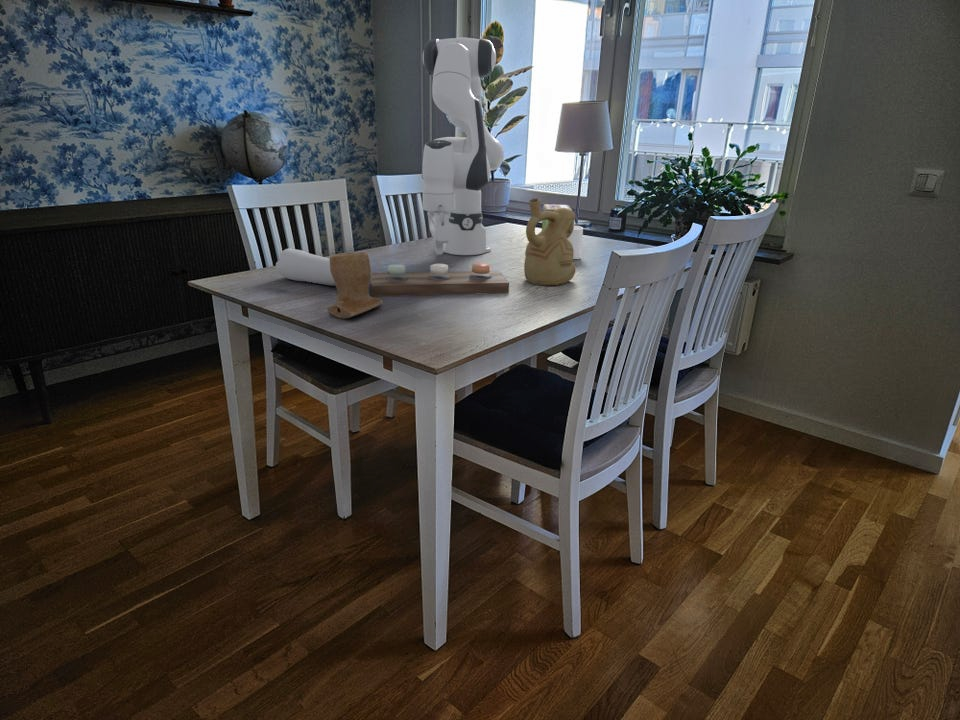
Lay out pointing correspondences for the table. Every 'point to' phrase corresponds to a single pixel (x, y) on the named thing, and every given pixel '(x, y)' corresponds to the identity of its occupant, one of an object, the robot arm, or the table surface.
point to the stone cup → (351, 284)
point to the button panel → (438, 283)
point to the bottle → (305, 267)
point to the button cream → (439, 269)
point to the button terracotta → (480, 268)
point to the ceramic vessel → (549, 246)
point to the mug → (576, 241)
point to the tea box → (552, 208)
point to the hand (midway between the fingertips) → (439, 253)
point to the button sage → (396, 269)
